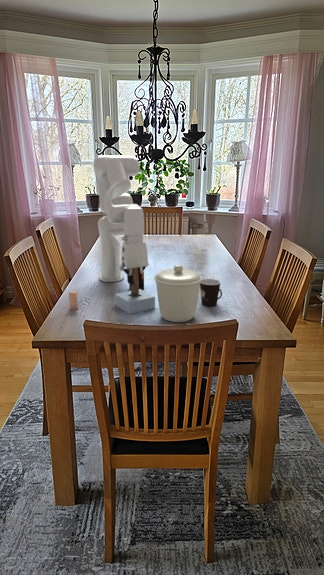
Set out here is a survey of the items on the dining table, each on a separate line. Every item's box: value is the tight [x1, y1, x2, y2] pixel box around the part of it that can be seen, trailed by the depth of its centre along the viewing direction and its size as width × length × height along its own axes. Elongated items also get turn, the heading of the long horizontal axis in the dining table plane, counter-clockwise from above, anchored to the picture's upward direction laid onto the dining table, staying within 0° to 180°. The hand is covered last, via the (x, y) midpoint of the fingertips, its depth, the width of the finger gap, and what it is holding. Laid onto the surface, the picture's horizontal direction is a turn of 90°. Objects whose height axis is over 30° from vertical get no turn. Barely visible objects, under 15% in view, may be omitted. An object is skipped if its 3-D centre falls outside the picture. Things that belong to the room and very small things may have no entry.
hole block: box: [114, 289, 156, 315], centre depth 164 cm, size 12×12×5 cm
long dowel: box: [131, 268, 139, 296], centre depth 161 cm, size 3×3×13 cm
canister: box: [154, 264, 203, 323], centre depth 151 cm, size 18×18×21 cm
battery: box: [128, 270, 145, 291], centre depth 185 cm, size 4×7×10 cm, turn 95°
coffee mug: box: [199, 278, 223, 308], centre depth 165 cm, size 12×9×10 cm
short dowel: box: [68, 290, 79, 311], centre depth 162 cm, size 3×3×7 cm
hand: (134, 282), depth 162 cm, fingers closed on long dowel, 3 cm apart
